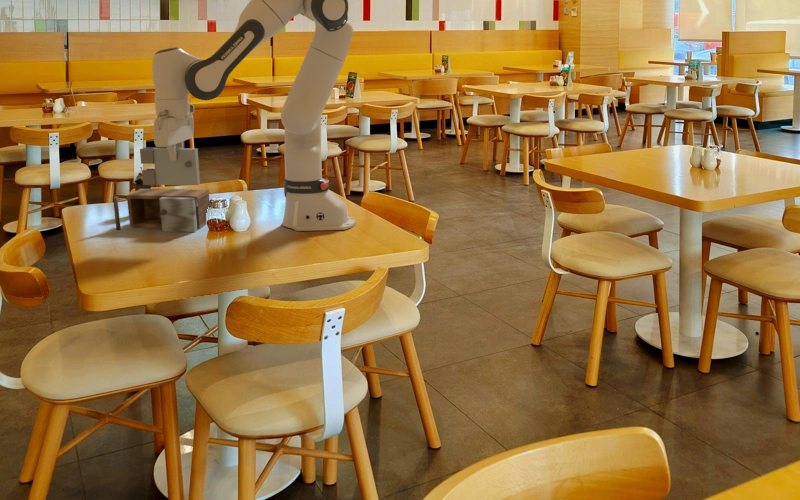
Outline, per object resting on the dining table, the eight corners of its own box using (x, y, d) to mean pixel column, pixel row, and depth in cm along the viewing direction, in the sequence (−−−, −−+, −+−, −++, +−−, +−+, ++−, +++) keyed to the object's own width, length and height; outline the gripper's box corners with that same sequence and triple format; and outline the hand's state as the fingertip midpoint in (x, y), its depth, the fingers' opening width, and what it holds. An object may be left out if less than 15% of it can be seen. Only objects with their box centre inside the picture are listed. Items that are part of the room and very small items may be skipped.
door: (201, 183, 221) (198, 148, 218) (196, 186, 217) (193, 150, 214) (148, 182, 222) (145, 147, 220) (142, 185, 218) (139, 149, 216)
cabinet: (211, 221, 246) (208, 189, 243) (193, 233, 231) (190, 200, 228) (135, 219, 248) (132, 188, 245) (113, 231, 234) (109, 198, 231)
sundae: (148, 210, 261) (143, 165, 257) (159, 212, 257) (155, 167, 253) (130, 213, 256) (126, 168, 252) (142, 216, 252) (137, 170, 248)
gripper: (168, 112, 204) (173, 165, 207) (196, 105, 223) (199, 153, 227) (145, 112, 204) (150, 165, 208) (175, 105, 224) (178, 153, 228)
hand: (176, 159), depth 218 cm, fingers closed on door, 2 cm apart
